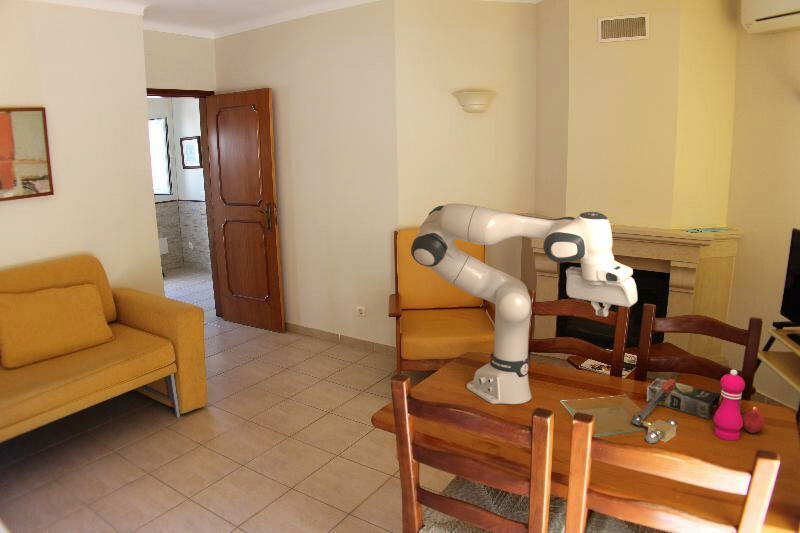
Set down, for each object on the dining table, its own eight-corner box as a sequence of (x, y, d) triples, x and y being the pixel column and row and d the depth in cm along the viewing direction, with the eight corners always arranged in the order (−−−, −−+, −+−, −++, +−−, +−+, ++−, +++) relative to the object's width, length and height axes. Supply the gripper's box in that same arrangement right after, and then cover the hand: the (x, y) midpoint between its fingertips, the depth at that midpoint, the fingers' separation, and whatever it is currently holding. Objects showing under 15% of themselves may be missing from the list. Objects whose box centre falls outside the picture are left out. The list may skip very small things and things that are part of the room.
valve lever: (631, 418, 169) (669, 378, 181) (632, 424, 169) (670, 384, 182) (638, 420, 167) (675, 380, 180) (638, 427, 168) (676, 386, 180)
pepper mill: (745, 442, 159) (753, 375, 155) (717, 440, 160) (724, 373, 156) (735, 430, 166) (743, 365, 162) (708, 428, 167) (715, 364, 163)
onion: (763, 439, 161) (766, 413, 159) (739, 434, 164) (742, 408, 162) (763, 431, 165) (766, 405, 164) (740, 426, 168) (743, 401, 167)
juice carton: (642, 401, 186) (644, 383, 184) (654, 391, 192) (655, 374, 191) (709, 421, 172) (711, 402, 171) (719, 410, 179) (721, 392, 177)
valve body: (628, 435, 164) (629, 425, 163) (652, 420, 173) (653, 411, 172) (658, 447, 157) (659, 437, 157) (682, 431, 166) (683, 421, 165)
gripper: (559, 269, 164) (564, 313, 168) (626, 277, 148) (630, 325, 152) (571, 262, 168) (576, 305, 172) (638, 269, 152) (641, 317, 156)
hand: (602, 315), depth 162 cm, fingers closed
